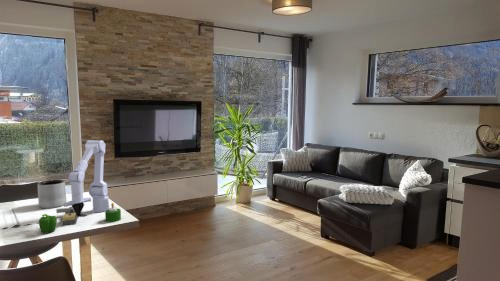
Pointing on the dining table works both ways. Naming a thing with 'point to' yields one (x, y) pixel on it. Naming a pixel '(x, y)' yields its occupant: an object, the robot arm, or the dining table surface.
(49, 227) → the bell pepper
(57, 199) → the planter
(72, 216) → the lever cap
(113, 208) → the candle
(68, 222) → the plane body
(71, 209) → the lever
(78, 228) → the dining table surface
